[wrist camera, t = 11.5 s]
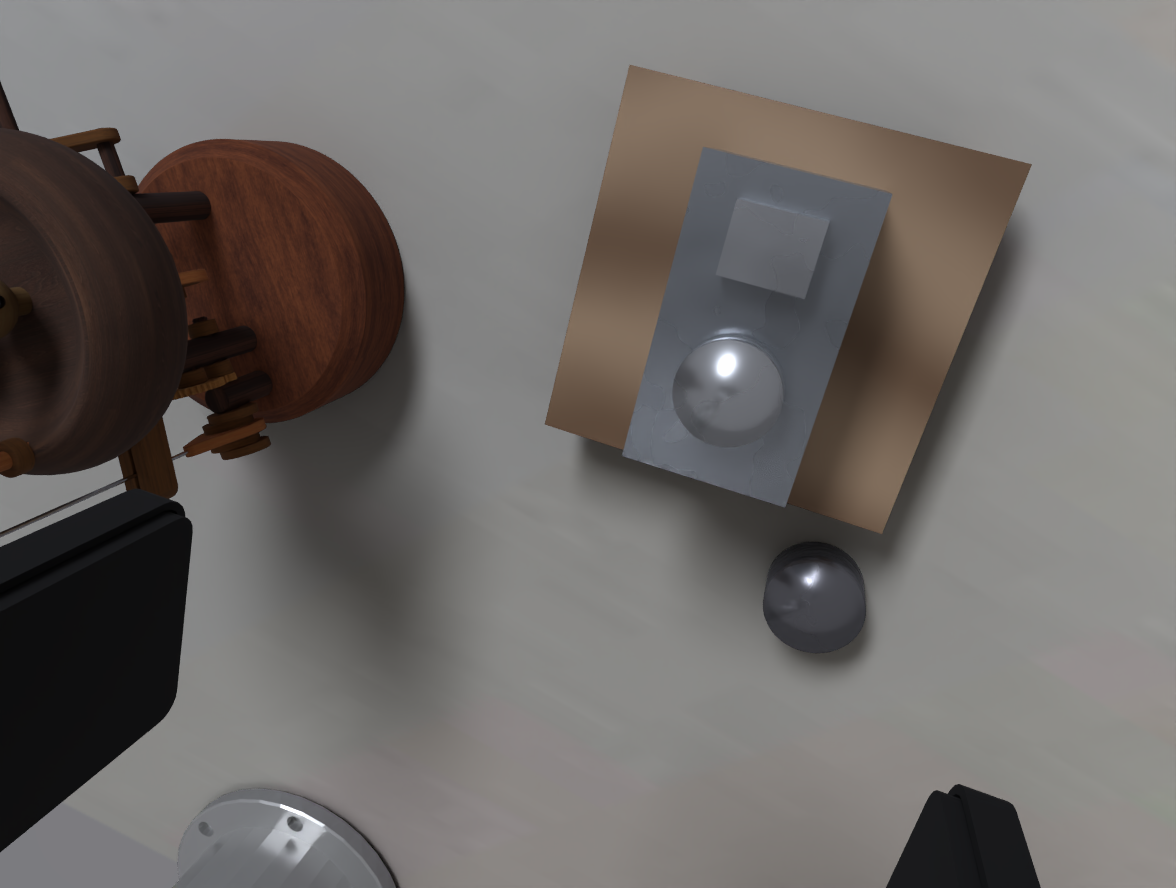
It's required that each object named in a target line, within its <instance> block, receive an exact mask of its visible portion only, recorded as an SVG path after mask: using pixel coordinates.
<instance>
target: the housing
mask: <svg viewBox="0 0 1176 888" xmlns="http://www.w3.org/2000/svg"><path fill="white" fill-rule="evenodd" d="M892 195H893V194H892V193H889V192H887V191H885V190H882V189H878V188H874V187H870V186H866V185H862V184H858V183H854V182H850V181H846V180H842V179H838V178H834V177H830V176H826V175H822V174H818V173H814V172H810V171H806V170H802V169H798V168H794V167H790V166H786V165H782V164H778V163H774V162H770V161H765V160H761V159H757V158H753V157H749V156H745V155H741V154H737V153H733V152H729V151H725V150H721V149H714V148H707V147H703V149H702V153H701V156H700V160H699V164H698V168H697V172H696V175H695V179H694V183H693V187H692V191H691V194H690V198H689V202H688V206H687V210H686V213H685V217H684V221H683V225H682V229H681V233H680V236H679V240H678V244H677V248H676V252H675V255H674V259H673V263H672V267H671V271H670V274H669V278H668V282H667V286H666V290H665V293H664V297H663V301H662V305H661V309H660V312H659V316H658V320H657V324H656V328H655V332H654V335H653V339H652V343H651V347H650V351H649V354H648V358H647V362H646V366H645V370H644V373H643V377H642V381H641V385H640V389H639V392H638V396H637V400H636V404H635V408H634V412H633V415H632V419H631V423H630V427H629V431H628V434H627V438H626V442H625V446H624V450H623V453H622V456H624V457H627V458H630V459H633V460H636V461H639V462H642V463H646V464H649V465H652V466H655V467H658V468H661V469H665V470H668V471H671V472H674V473H677V474H680V475H684V476H687V477H690V478H693V479H696V480H699V481H703V482H706V483H709V484H712V485H715V486H718V487H722V488H725V489H728V490H731V491H734V492H737V493H740V494H744V495H747V496H750V497H753V498H756V499H759V500H763V501H766V502H769V503H772V504H775V505H778V506H782V507H785V506H786V504H787V501H788V498H789V495H790V492H791V489H792V486H793V483H794V480H795V477H796V474H797V471H798V469H799V466H800V463H801V460H802V457H803V454H804V451H805V448H806V445H807V442H808V439H809V437H810V434H811V431H812V428H813V425H814V422H815V419H816V416H817V413H818V410H819V407H820V405H821V402H822V399H823V396H824V393H825V390H826V387H827V384H828V381H829V378H830V375H831V372H832V370H833V367H834V364H835V361H836V358H837V355H838V352H839V349H840V346H841V343H842V340H843V338H844V335H845V332H846V329H847V326H848V323H849V320H850V317H851V314H852V311H853V308H854V306H855V303H856V300H857V297H858V294H859V291H860V288H861V285H862V282H863V279H864V276H865V273H866V271H867V268H868V265H869V262H870V259H871V256H872V253H873V250H874V247H875V244H876V241H877V239H878V236H879V233H880V230H881V227H882V224H883V221H884V218H885V215H886V212H887V209H888V207H889V204H890V201H891V198H892Z"/></svg>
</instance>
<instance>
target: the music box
mask: <svg viewBox="0 0 1176 888" xmlns="http://www.w3.org/2000/svg"><path fill="white" fill-rule="evenodd" d="M120 140H121V139H120V136H119V133H118V130H117V129H115V128H99V129H95V130H90V131H86V132H81V133H76V134H72V135H67V136H62V137H57V138H53V139H47V138H45V137H41V136H38V135H35V134H31V133H28V132H23V131H19V129H18V126H17V123H16V121H15V118H14V116H13V113H12V110H11V108H10V105H9V103H8V100H7V98H6V95H5V92H4V90H3V87H2V85H1V82H0V474H1V475H3V476H5V477H9V478H13V477H17V476H19V475H22V474H28V475H56V474H66V473H72V472H77V471H82V470H85V469H89V468H92V467H95V466H98V465H101V464H103V463H105V462H107V461H110V460H112V459H114V458H116V457H117V456H118V458H119V462H120V466H121V470H122V474H123V479H120V480H118V481H116V482H114V483H111V484H109V485H107V486H105V487H102V488H100V489H98V490H95V491H93V492H91V493H89V494H86V495H84V496H82V497H80V498H77V499H75V500H73V501H70V502H68V503H66V504H64V505H61V506H59V507H57V508H55V509H52V510H50V511H48V512H45V513H43V514H41V515H39V516H36V517H34V518H32V519H30V520H27V521H25V522H23V523H20V524H18V525H16V526H14V527H11V528H9V529H7V530H5V531H2V532H0V538H1V537H3V536H5V535H7V534H10V533H12V532H14V531H16V530H19V529H21V528H23V527H25V526H27V525H30V524H32V523H34V522H36V521H39V520H41V519H43V518H45V517H48V516H50V515H52V514H54V513H57V512H59V511H61V510H63V509H66V508H68V507H70V506H72V505H74V504H77V503H79V502H81V501H83V500H86V499H88V498H90V497H92V496H95V495H97V494H99V493H101V492H104V491H106V490H108V489H110V488H113V487H115V486H117V485H119V484H122V483H124V482H125V486H126V490H127V491H128V490H132V489H142V490H145V491H148V492H150V493H153V494H156V495H159V496H161V497H164V498H167V499H169V498H171V497H173V496H174V495H175V494H176V493H177V491H178V483H177V479H176V474H175V470H174V466H173V460H175V459H178V458H180V457H182V456H184V455H186V457H192V456H195V455H198V454H201V453H204V452H206V451H209V450H211V452H212V453H213V454H215V453H220V454H221V457H222V459H223V460H229V459H234V458H238V457H242V456H246V455H249V454H252V453H255V452H257V451H260V450H262V449H265V448H267V447H268V446H270V445H271V442H270V439H269V437H268V436H261V437H260V434H259V432H260V431H262V430H264V429H265V428H266V424H265V423H275V422H282V421H287V420H291V419H294V418H297V417H300V416H302V415H304V414H307V413H309V412H311V411H313V410H315V409H317V408H319V407H321V406H324V405H326V404H328V403H330V402H332V401H334V400H336V399H338V398H341V397H343V396H345V395H347V394H349V393H351V392H353V391H354V390H356V389H357V388H359V387H360V386H362V385H363V384H364V383H365V382H367V381H368V380H369V379H370V378H371V377H372V376H373V375H374V374H375V373H376V372H377V370H378V369H379V368H380V367H381V365H382V364H383V363H384V361H385V360H386V358H387V356H388V355H389V353H390V351H391V349H392V347H393V345H394V343H395V340H396V337H397V335H398V331H399V328H400V324H401V320H402V314H403V306H404V277H403V269H402V263H401V258H400V254H399V250H398V247H397V244H396V241H395V238H394V235H393V233H392V230H391V228H390V226H389V224H388V222H387V220H386V218H385V216H384V214H383V212H382V211H381V209H380V207H379V206H378V204H377V203H376V201H375V200H374V198H373V197H372V196H371V194H370V193H369V192H368V191H367V189H366V188H365V187H364V186H363V185H362V184H361V183H360V182H359V181H358V180H357V179H356V178H355V177H354V176H353V175H352V174H351V173H350V172H349V171H348V170H346V169H345V168H344V167H342V166H341V165H340V164H338V163H337V162H335V161H334V160H332V159H331V158H329V157H327V156H326V155H324V154H322V153H320V152H317V151H315V150H313V149H310V148H307V147H304V146H301V145H297V144H293V143H288V142H279V141H257V140H234V139H213V140H205V141H200V142H196V143H192V144H189V145H187V146H184V147H182V148H180V149H178V150H176V151H174V152H172V153H171V154H169V155H168V156H166V157H165V158H163V159H162V160H161V161H160V162H158V163H157V164H156V165H155V166H154V167H153V168H152V169H151V170H150V171H149V172H148V173H147V175H146V176H145V177H144V179H143V180H142V181H141V183H140V184H139V186H138V185H137V183H136V180H135V177H134V176H131V175H126V176H125V174H124V171H123V168H122V166H121V163H120V160H119V157H118V155H117V152H116V149H115V146H114V144H116V143H118V142H120ZM96 148H98V151H99V154H100V157H101V159H102V162H103V165H104V167H105V170H106V171H105V170H104V169H103V168H101V167H100V166H98V165H97V164H96V163H94V162H93V161H91V160H90V159H88V158H87V157H85V156H83V155H82V154H80V153H78V152H82V151H87V150H91V149H96ZM177 388H178V389H177ZM188 396H189V397H190V398H192V399H193V400H195V401H196V402H198V403H199V404H201V405H202V406H204V407H206V408H208V409H210V410H211V411H213V412H214V414H211V415H209V416H207V419H208V422H209V424H206V425H204V426H203V427H202V428H203V431H204V433H203V434H201V435H199V436H198V437H196V438H195V439H194V440H192V441H191V442H189V443H188V444H187V445H185V446H184V447H183V449H184V452H182V453H179V454H177V455H175V456H173V457H171V453H170V448H169V444H168V440H167V435H166V431H165V426H164V422H163V418H162V416H163V415H164V413H165V412H166V410H167V409H168V407H169V405H170V403H171V401H172V400H176V399H179V398H183V397H188Z"/></svg>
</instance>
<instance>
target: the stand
mask: <svg viewBox="0 0 1176 888" xmlns="http://www.w3.org/2000/svg"><path fill="white" fill-rule="evenodd" d="M703 147H707V148H714V149H721V150H725V151H729V152H733V153H737V154H741V155H745V156H749V157H753V158H757V159H761V160H765V161H770V162H774V163H778V164H782V165H786V166H790V167H794V168H798V169H802V170H806V171H810V172H814V173H818V174H822V175H826V176H830V177H834V178H838V179H842V180H846V181H850V182H854V183H858V184H862V185H866V186H870V187H874V188H878V189H882V190H885V191H887V192H889V193H892V194H893V195H892V198H891V201H890V204H889V207H888V209H887V212H886V215H885V218H884V221H883V224H882V227H881V230H880V233H879V236H878V239H877V241H876V244H875V247H874V250H873V253H872V256H871V259H870V262H869V265H868V268H867V271H866V273H865V276H864V279H863V282H862V285H861V288H860V291H859V294H858V297H857V300H856V303H855V306H854V308H853V311H852V314H851V317H850V320H849V323H848V326H847V329H846V332H845V335H844V338H843V340H842V343H841V346H840V349H839V352H838V355H837V358H836V361H835V364H834V367H833V370H832V372H831V375H830V378H829V381H828V384H827V387H826V390H825V393H824V396H823V399H822V402H821V405H820V407H819V410H818V413H817V416H816V419H815V422H814V425H813V428H812V431H811V434H810V437H809V439H808V442H807V445H806V448H805V451H804V454H803V457H802V460H801V463H800V466H799V469H798V471H797V474H796V477H795V480H794V483H793V486H792V489H791V492H790V495H789V498H788V501H787V503H788V504H791V505H794V506H797V507H800V508H803V509H806V510H810V511H813V512H816V513H819V514H822V515H825V516H828V517H831V518H834V519H837V520H840V521H843V522H846V523H849V524H853V525H856V526H859V527H862V528H865V529H868V530H871V531H874V532H877V533H880V534H882V532H883V530H884V528H885V525H886V523H887V520H888V518H889V515H890V513H891V510H892V508H893V505H894V503H895V500H896V498H897V496H898V493H899V491H900V488H901V486H902V483H903V481H904V478H905V476H906V473H907V471H908V468H909V466H910V463H911V461H912V459H913V456H914V454H915V451H916V449H917V446H918V444H919V441H920V439H921V436H922V434H923V431H924V429H925V426H926V424H927V422H928V419H929V417H930V414H931V412H932V409H933V407H934V404H935V402H936V399H937V397H938V394H939V392H940V390H941V387H942V385H943V382H944V380H945V377H946V375H947V372H948V370H949V367H950V365H951V362H952V360H953V357H954V355H955V353H956V350H957V348H958V345H959V343H960V340H961V338H962V335H963V333H964V330H965V328H966V325H967V323H968V320H969V318H970V316H971V313H972V311H973V308H974V306H975V303H976V301H977V298H978V296H979V293H980V291H981V288H982V286H983V284H984V281H985V279H986V276H987V274H988V271H989V269H990V266H991V264H992V261H993V259H994V256H995V254H996V251H997V249H998V247H999V244H1000V242H1001V239H1002V237H1003V234H1004V232H1005V229H1006V227H1007V224H1008V222H1009V219H1010V217H1011V215H1012V212H1013V210H1014V207H1015V205H1016V202H1017V200H1018V197H1019V195H1020V192H1021V190H1022V187H1023V185H1024V182H1025V180H1026V178H1027V175H1028V173H1029V170H1030V168H1031V165H1032V164H1028V163H1024V162H1020V161H1016V160H1012V159H1008V158H1004V157H1000V156H996V155H992V154H988V153H984V152H980V151H976V150H972V149H967V148H963V147H959V146H955V145H951V144H947V143H943V142H939V141H935V140H931V139H927V138H923V137H919V136H915V135H911V134H907V133H903V132H899V131H895V130H891V129H887V128H883V127H879V126H875V125H871V124H867V123H863V122H859V121H855V120H851V119H846V118H842V117H838V116H834V115H830V114H826V113H822V112H818V111H814V110H810V109H806V108H802V107H798V106H794V105H790V104H786V103H782V102H778V101H774V100H770V99H766V98H762V97H758V96H754V95H750V94H746V93H742V92H738V91H734V90H730V89H725V88H721V87H717V86H713V85H709V84H705V83H701V82H697V81H693V80H689V79H685V78H681V77H677V76H673V75H669V74H665V73H661V72H657V71H653V70H649V69H645V68H641V67H637V66H633V65H630V66H629V70H628V74H627V78H626V83H625V87H624V91H623V95H622V100H621V104H620V108H619V112H618V117H617V121H616V125H615V129H614V133H613V138H612V142H611V146H610V150H609V155H608V159H607V163H606V167H605V172H604V176H603V180H602V184H601V189H600V193H599V197H598V201H597V205H596V210H595V214H594V218H593V222H592V227H591V231H590V235H589V239H588V244H587V248H586V252H585V256H584V261H583V265H582V269H581V273H580V277H579V282H578V286H577V290H576V294H575V299H574V303H573V307H572V311H571V316H570V320H569V324H568V328H567V332H566V337H565V341H564V345H563V349H562V354H561V358H560V362H559V366H558V371H557V375H556V379H555V383H554V388H553V392H552V396H551V400H550V404H549V409H548V413H547V417H546V421H545V425H548V426H552V427H555V428H558V429H561V430H564V431H567V432H570V433H573V434H576V435H579V436H582V437H585V438H588V439H591V440H595V441H598V442H601V443H604V444H607V445H610V446H613V447H616V448H619V449H622V450H624V446H625V442H626V438H627V434H628V431H629V427H630V423H631V419H632V415H633V412H634V408H635V404H636V400H637V396H638V392H639V389H640V385H641V381H642V377H643V373H644V370H645V366H646V362H647V358H648V354H649V351H650V347H651V343H652V339H653V335H654V332H655V328H656V324H657V320H658V316H659V312H660V309H661V305H662V301H663V297H664V293H665V290H666V286H667V282H668V278H669V274H670V271H671V267H672V263H673V259H674V255H675V252H676V248H677V244H678V240H679V236H680V233H681V229H682V225H683V221H684V217H685V213H686V210H687V206H688V202H689V198H690V194H691V191H692V187H693V183H694V179H695V175H696V172H697V168H698V164H699V160H700V156H701V153H702V149H703Z"/></svg>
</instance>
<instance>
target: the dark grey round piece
mask: <svg viewBox="0 0 1176 888" xmlns="http://www.w3.org/2000/svg"><path fill="white" fill-rule="evenodd" d="M763 611H764V616H765V619H766V621H767V624H768V626H769V627H770V629H771V630H772V632H773V633H774V634H775V635H776V636H777V637H778V638H779V639H780V640H781V641H783V642H784V643H785V644H787V645H789V646H791V647H793V648H795V649H797V650H801V651H804V652H810V653H825V652H831V651H834V650H837V649H840V648H842V647H844V646H845V645H847V644H849V643H850V642H851V641H852V640H853V639H854V638H855V637H856V636H857V635H858V633H859V632H860V630H861V629H862V627H863V624H864V621H865V616H866V604H865V590H864V581H863V577H862V573H861V571H860V569H859V567H858V566H857V564H856V563H855V561H854V560H853V559H852V558H851V557H850V556H849V555H848V554H846V553H845V552H844V551H842V550H840V549H839V548H837V547H834V546H832V545H829V544H825V543H819V542H806V543H801V544H797V545H794V546H792V547H790V548H787V549H786V550H784V551H783V552H782V553H780V554H779V555H778V556H777V557H776V559H775V560H774V561H773V563H772V564H771V566H770V568H769V571H768V575H767V580H766V587H765V593H764V600H763Z"/></svg>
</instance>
